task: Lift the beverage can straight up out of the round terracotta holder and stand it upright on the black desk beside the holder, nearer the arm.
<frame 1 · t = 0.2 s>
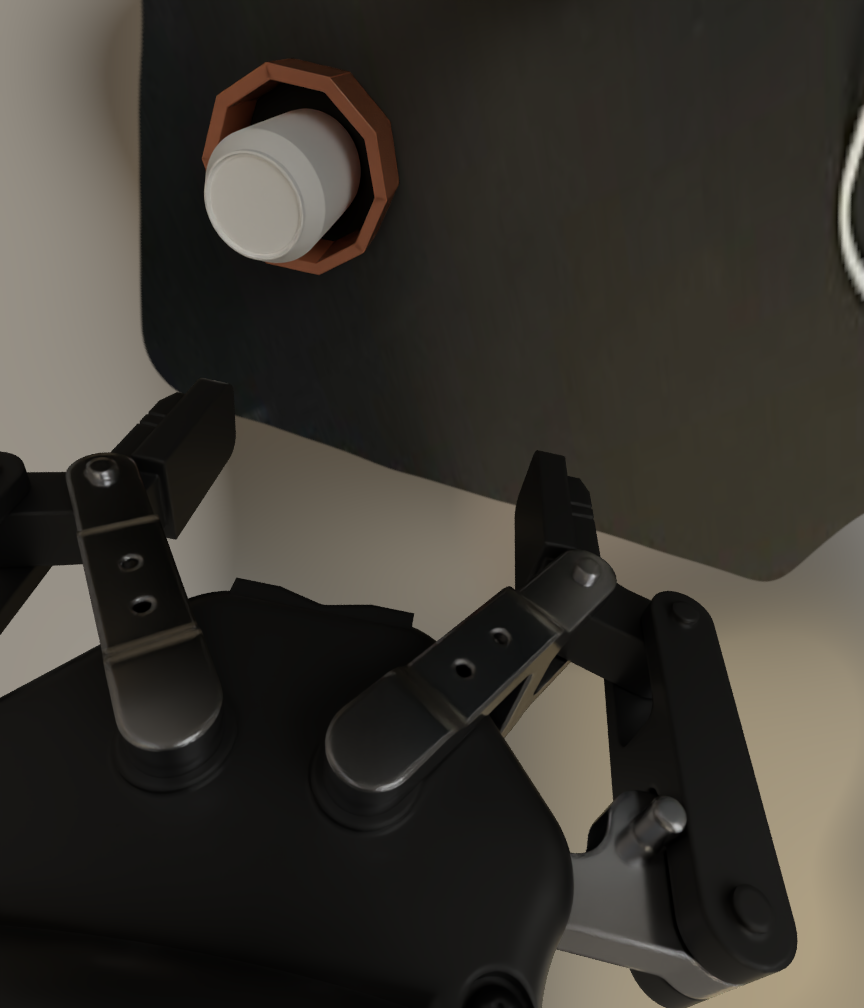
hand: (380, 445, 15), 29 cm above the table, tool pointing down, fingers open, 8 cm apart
holder: (316, 164, 37), on the table
beverage can: (317, 163, 37), resting in holder
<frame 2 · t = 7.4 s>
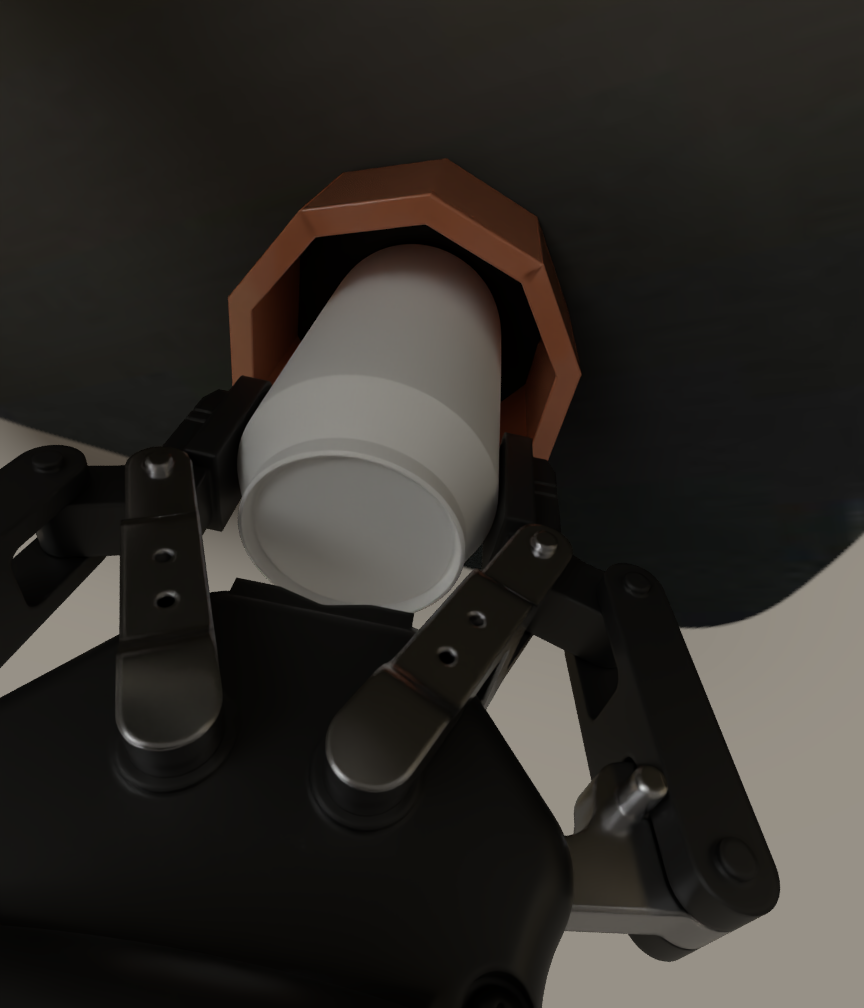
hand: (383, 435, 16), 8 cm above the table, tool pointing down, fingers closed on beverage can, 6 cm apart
holder: (418, 323, 21), on the table
beverage can: (418, 322, 22), resting in holder, touching gripper
when the fingers open (8 cm above the table, at t = 16.1 s): beverage can stays where it is, on the table.
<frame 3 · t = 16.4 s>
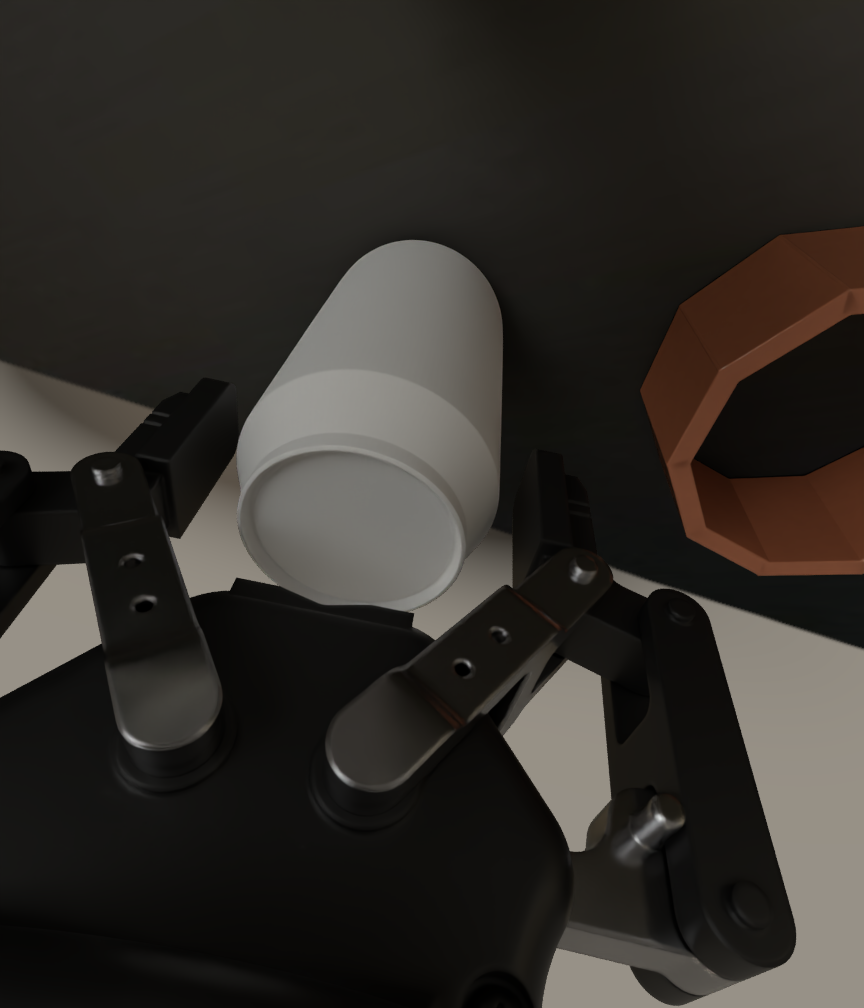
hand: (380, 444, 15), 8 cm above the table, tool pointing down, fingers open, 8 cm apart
holder: (794, 379, 21), on the table
beverage can: (420, 318, 21), on the table
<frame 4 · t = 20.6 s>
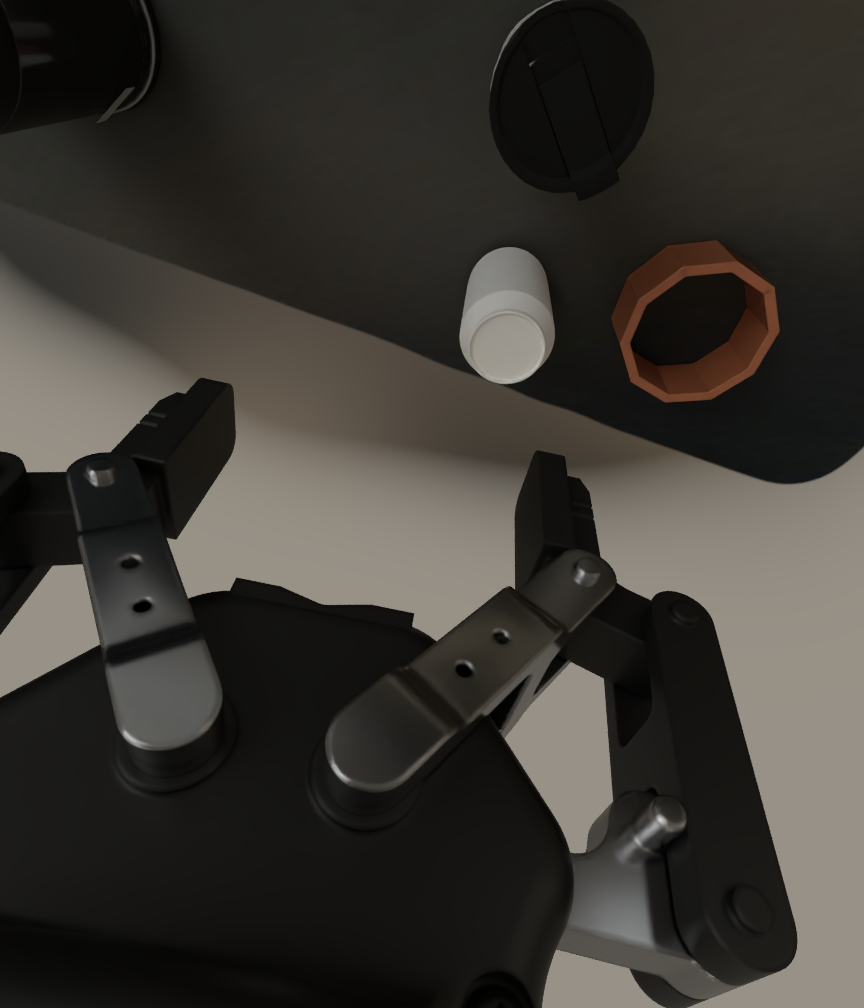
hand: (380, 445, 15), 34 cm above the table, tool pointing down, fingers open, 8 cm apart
holder: (682, 311, 45), on the table
travel mug: (546, 74, 37), on the table
beverage can: (507, 283, 46), on the table
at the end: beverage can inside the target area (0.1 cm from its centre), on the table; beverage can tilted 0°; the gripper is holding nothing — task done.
